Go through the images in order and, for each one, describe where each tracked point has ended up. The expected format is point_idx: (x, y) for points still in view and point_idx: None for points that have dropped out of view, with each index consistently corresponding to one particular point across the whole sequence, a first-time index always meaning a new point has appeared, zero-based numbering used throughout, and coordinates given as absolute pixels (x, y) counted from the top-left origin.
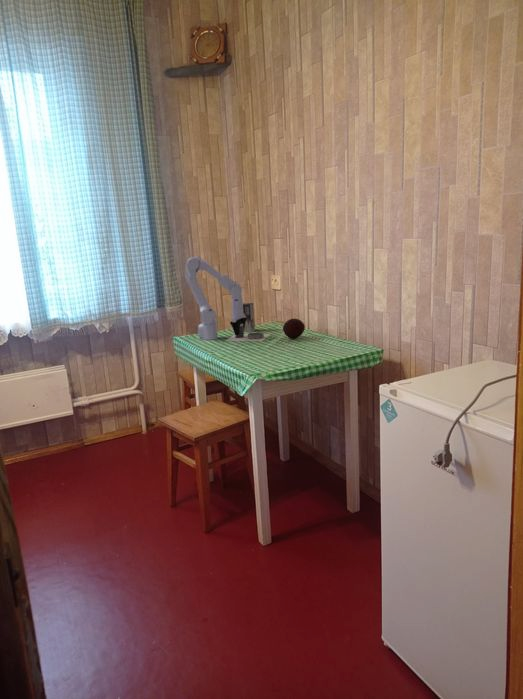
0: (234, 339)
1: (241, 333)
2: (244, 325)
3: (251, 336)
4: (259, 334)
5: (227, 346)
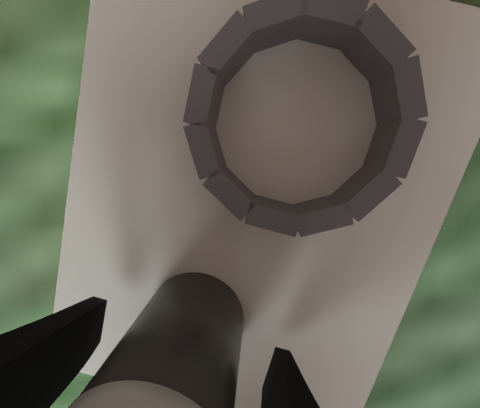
0: (314, 363)
1: (230, 323)
2: (18, 337)
3: (395, 180)
4: (228, 71)
5: None
